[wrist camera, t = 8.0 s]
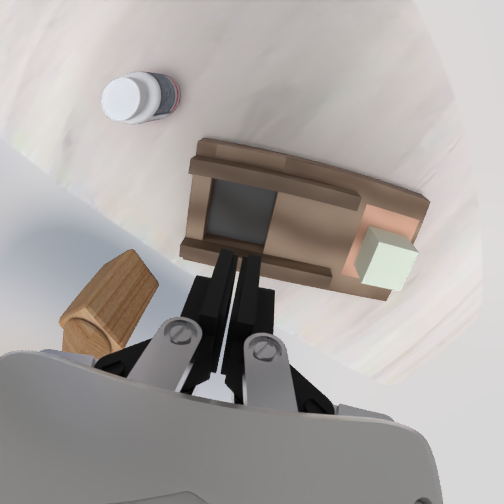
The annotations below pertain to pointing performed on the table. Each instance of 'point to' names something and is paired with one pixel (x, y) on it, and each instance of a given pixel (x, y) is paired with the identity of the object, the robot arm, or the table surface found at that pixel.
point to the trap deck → (291, 215)
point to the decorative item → (108, 307)
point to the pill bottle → (140, 97)
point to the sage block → (385, 259)
